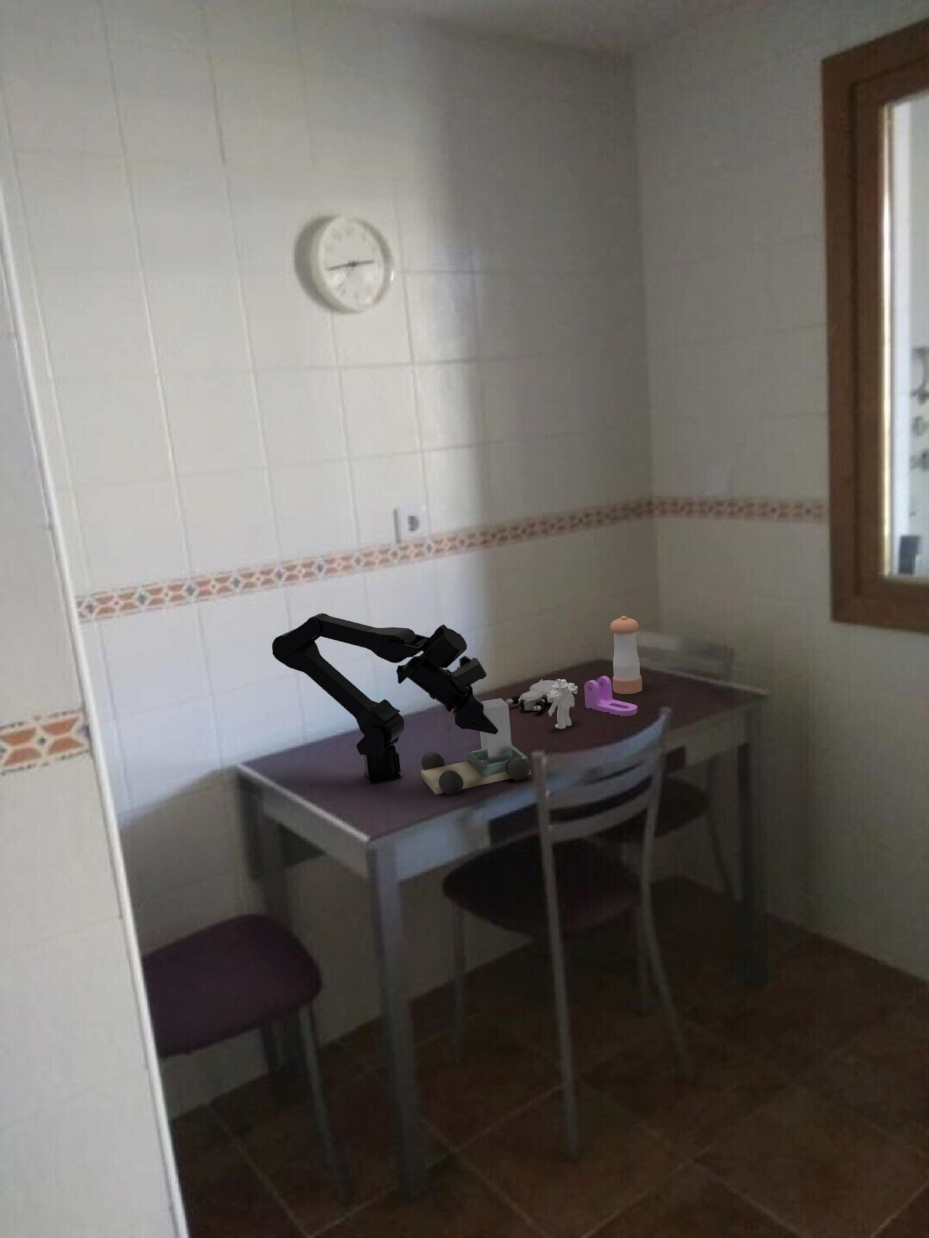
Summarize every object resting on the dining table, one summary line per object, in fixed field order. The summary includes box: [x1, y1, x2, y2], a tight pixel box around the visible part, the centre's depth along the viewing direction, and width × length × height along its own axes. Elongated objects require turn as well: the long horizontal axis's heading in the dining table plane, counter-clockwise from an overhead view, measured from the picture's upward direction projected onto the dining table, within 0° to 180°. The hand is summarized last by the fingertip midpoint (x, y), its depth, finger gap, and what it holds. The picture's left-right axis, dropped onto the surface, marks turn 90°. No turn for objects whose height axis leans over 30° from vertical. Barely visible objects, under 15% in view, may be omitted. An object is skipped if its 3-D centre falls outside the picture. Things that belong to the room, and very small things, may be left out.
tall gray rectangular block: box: [479, 697, 513, 765], centre depth 193 cm, size 5×5×13 cm
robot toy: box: [505, 678, 579, 712], centre depth 234 cm, size 12×4×15 cm
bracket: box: [583, 675, 638, 717], centre depth 226 cm, size 13×6×7 cm, turn 39°
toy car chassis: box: [420, 744, 531, 796], centre depth 192 cm, size 20×14×4 cm
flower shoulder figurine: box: [547, 678, 579, 730], centre depth 217 cm, size 9×4×12 cm, turn 134°
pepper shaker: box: [609, 615, 643, 695], centre depth 238 cm, size 7×7×19 cm
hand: (492, 725), depth 192 cm, fingers open, 9 cm apart
